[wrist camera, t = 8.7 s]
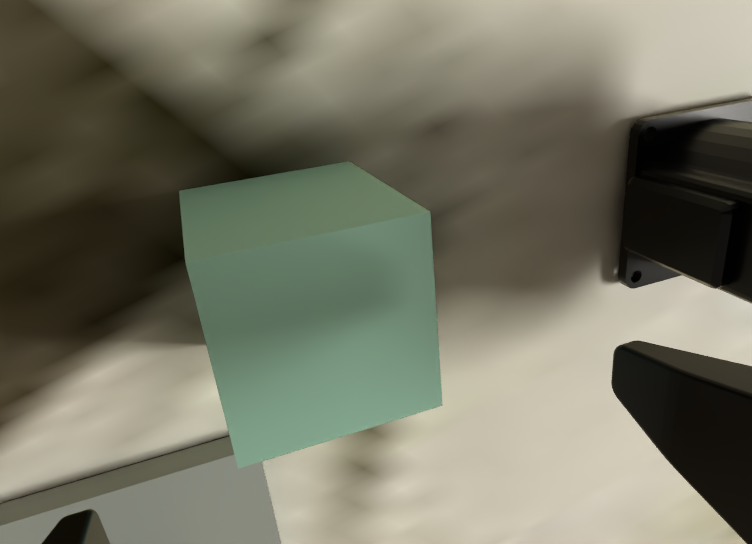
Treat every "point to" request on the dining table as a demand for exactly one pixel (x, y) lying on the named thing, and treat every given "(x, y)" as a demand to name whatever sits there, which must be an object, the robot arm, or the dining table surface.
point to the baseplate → (158, 502)
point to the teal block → (313, 305)
